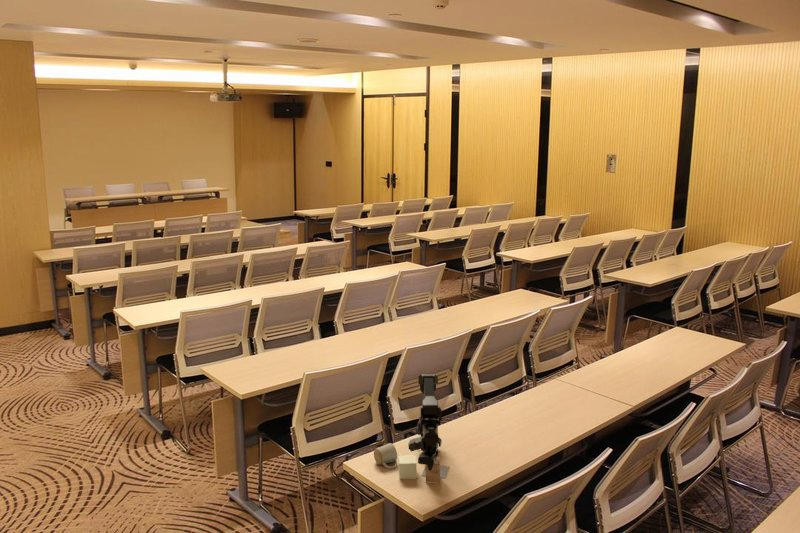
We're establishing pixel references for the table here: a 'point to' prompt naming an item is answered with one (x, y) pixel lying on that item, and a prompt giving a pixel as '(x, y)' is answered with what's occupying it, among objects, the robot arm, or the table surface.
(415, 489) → the table surface
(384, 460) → the ceramic mug
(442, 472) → the felt pad
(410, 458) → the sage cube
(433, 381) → the robot arm
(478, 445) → the table surface
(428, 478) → the walnut block
